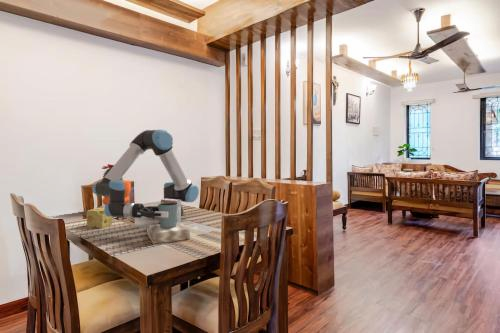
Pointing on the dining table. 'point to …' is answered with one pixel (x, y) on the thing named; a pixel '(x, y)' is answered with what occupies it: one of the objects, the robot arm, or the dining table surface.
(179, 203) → the candy bar box
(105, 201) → the potted cactus
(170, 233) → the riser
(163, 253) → the dining table surface
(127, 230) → the dining table surface
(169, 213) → the grey green cup
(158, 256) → the dining table surface
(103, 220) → the cheese
